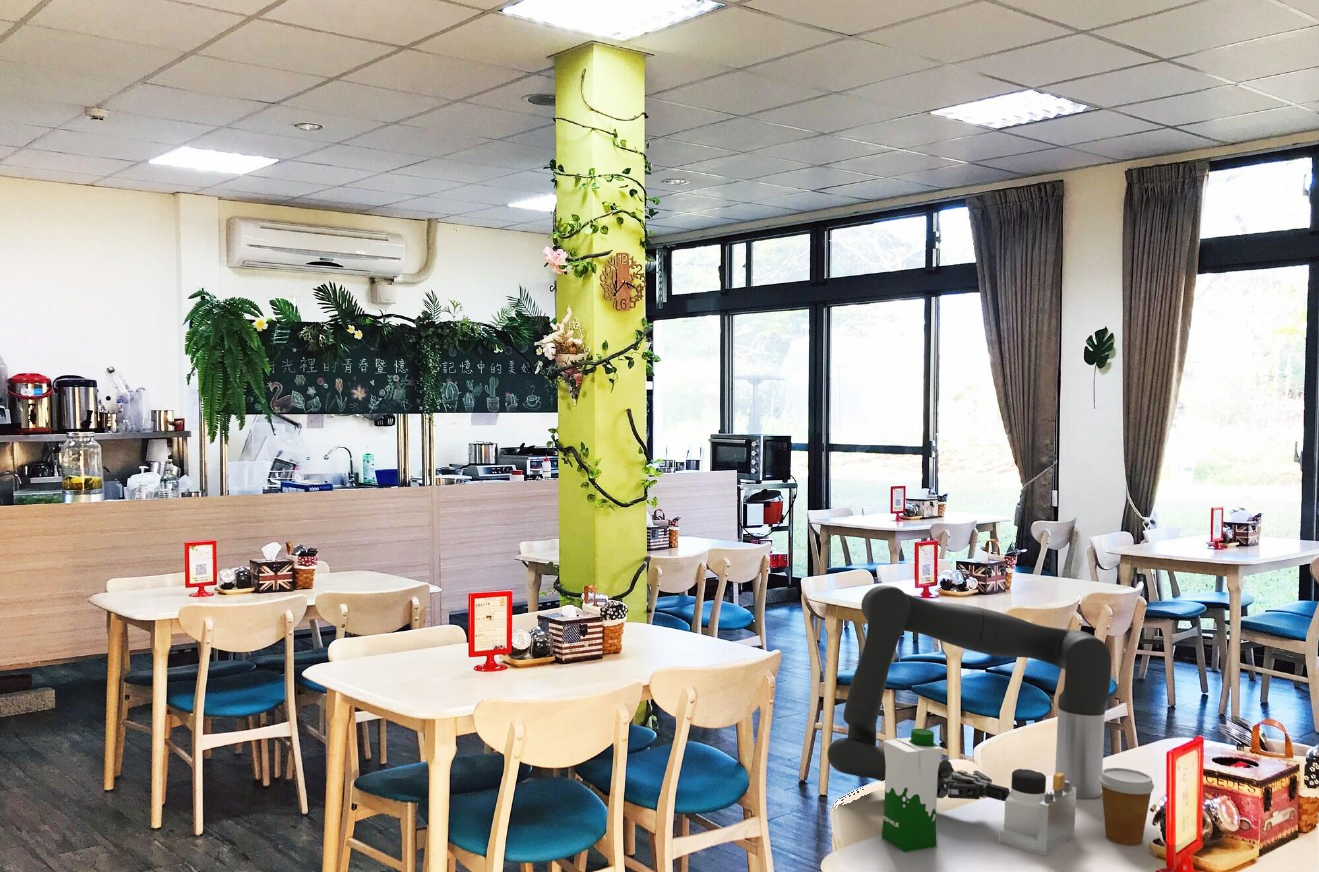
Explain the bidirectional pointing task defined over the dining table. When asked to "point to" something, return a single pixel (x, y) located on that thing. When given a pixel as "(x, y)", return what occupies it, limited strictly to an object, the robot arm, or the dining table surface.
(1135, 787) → the disposable coffee cup
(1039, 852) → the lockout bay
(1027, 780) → the medicine bottle
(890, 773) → the milk carton
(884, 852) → the dining table surface
